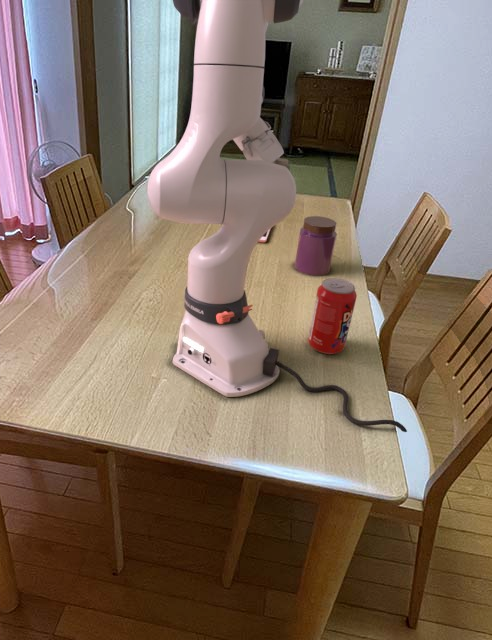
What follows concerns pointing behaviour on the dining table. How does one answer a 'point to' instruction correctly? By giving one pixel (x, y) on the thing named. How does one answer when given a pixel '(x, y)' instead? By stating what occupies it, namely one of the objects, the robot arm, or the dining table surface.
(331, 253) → the plum jar
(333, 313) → the soda can
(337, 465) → the dining table surface
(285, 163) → the green shaker
